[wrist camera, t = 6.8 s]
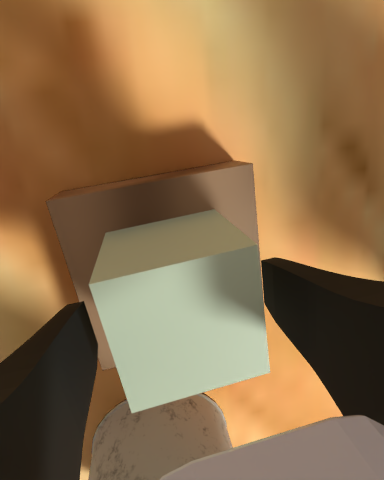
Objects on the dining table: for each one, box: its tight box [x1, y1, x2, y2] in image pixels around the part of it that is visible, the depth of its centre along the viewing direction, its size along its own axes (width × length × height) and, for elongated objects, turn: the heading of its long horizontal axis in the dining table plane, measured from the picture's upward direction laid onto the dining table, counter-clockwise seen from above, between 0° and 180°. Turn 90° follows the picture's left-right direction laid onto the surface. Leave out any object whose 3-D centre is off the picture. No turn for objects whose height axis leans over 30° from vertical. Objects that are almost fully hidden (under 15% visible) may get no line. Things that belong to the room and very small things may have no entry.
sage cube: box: [89, 209, 270, 413], centre depth 11 cm, size 5×5×5 cm
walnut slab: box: [46, 161, 264, 371], centre depth 15 cm, size 9×9×2 cm
